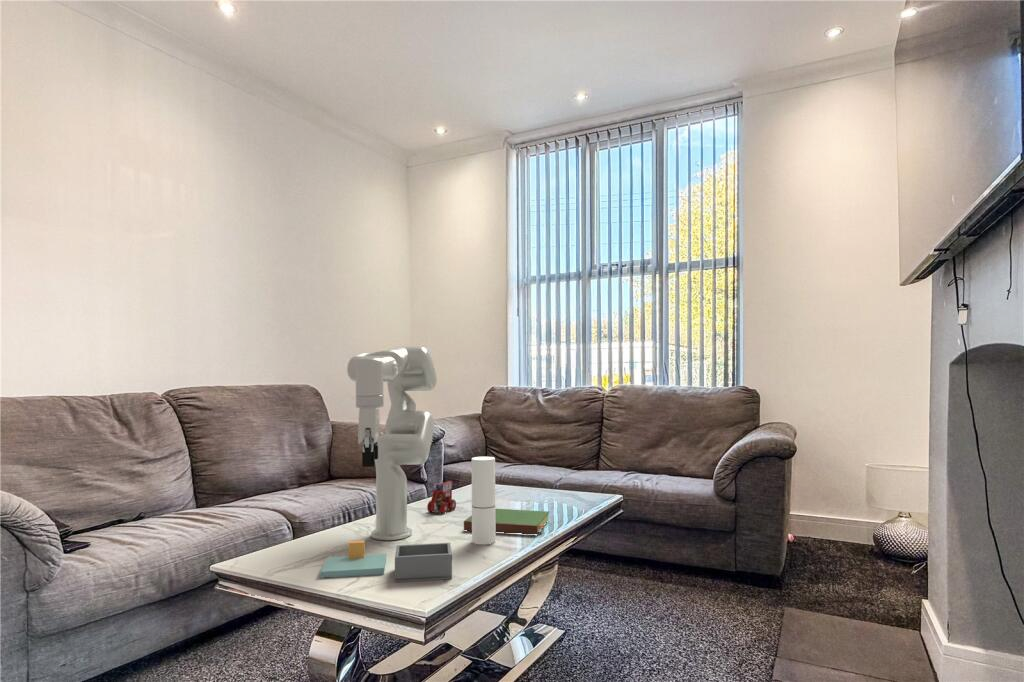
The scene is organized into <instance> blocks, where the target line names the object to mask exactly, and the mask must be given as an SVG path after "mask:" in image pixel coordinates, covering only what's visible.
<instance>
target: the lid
mask: <svg viewBox="0 0 1024 682" xmlns="http://www.w3.org/2000/svg"><path fill="white" fill-rule="evenodd" d="M365 547H366V542H365V540H350V541H349V542H348V555H344V556H327V557H326V560H325V562H324V564H323V566H322V568H321V570H320V572H319V575H320V576H319V578H320V577H333V578H345V577H346V578H347V577H348V576H349V577H362V576H379V575H380V576H381V575H384V574H385V571H386V565H387V564H386V563H387V553H379V554H377V553H376V554H366V553H365V552H366V551H365Z"/></svg>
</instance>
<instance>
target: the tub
mask: <svg viewBox="0 0 1024 682" xmlns="http://www.w3.org/2000/svg"><path fill="white" fill-rule="evenodd" d="M452 560H453V552H452V546H451V542H436V543H435V542H434V543H420V544H419V543H418V544H417V543H415V544H401V545H400V544H399V545H398V544H397V545H396V548H395V553H394V583H404V582H406V583H407V582H417V581H421V582H423V581H434V580H436V579H440V580H451V579H450V578H452V579H453V564H452V563H453V561H452Z"/></svg>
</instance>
